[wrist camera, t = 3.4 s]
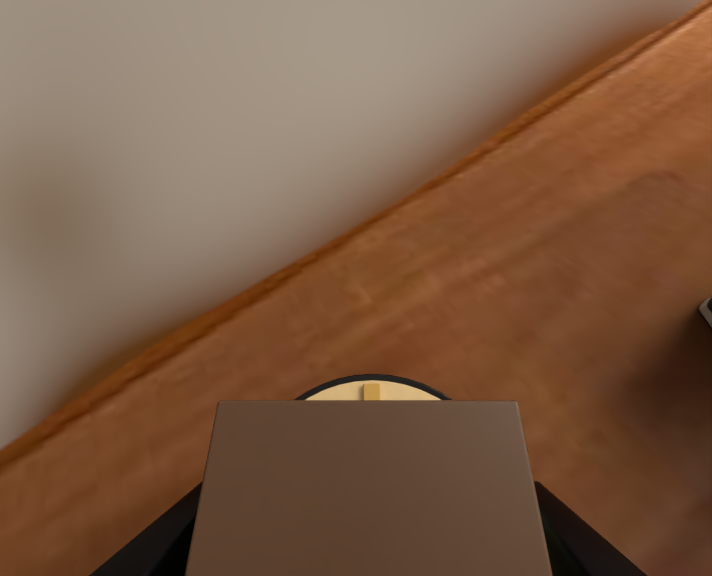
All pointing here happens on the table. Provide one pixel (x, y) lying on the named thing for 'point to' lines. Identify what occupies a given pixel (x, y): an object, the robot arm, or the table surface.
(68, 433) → the table surface
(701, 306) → the camera
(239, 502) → the box
